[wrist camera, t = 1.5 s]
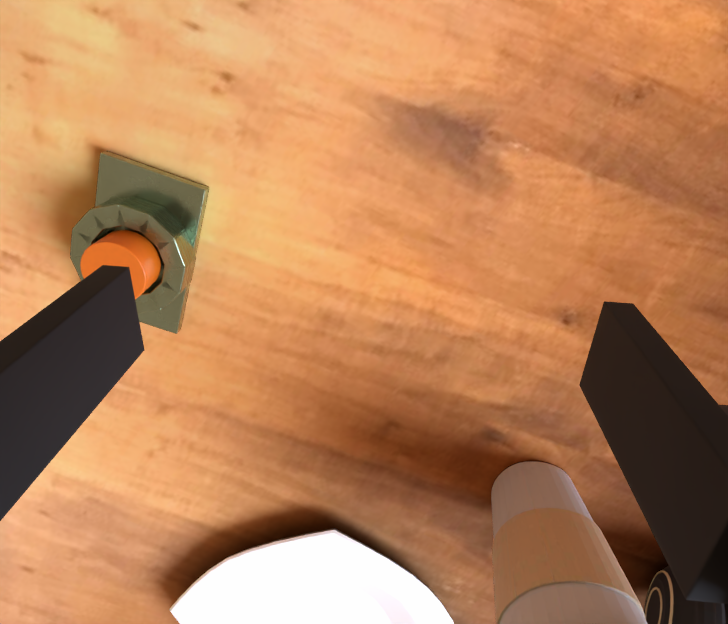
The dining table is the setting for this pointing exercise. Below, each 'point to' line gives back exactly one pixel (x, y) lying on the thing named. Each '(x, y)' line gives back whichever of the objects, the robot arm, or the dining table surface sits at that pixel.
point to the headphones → (679, 604)
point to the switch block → (148, 229)
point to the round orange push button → (124, 258)
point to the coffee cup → (553, 554)
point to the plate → (309, 586)
